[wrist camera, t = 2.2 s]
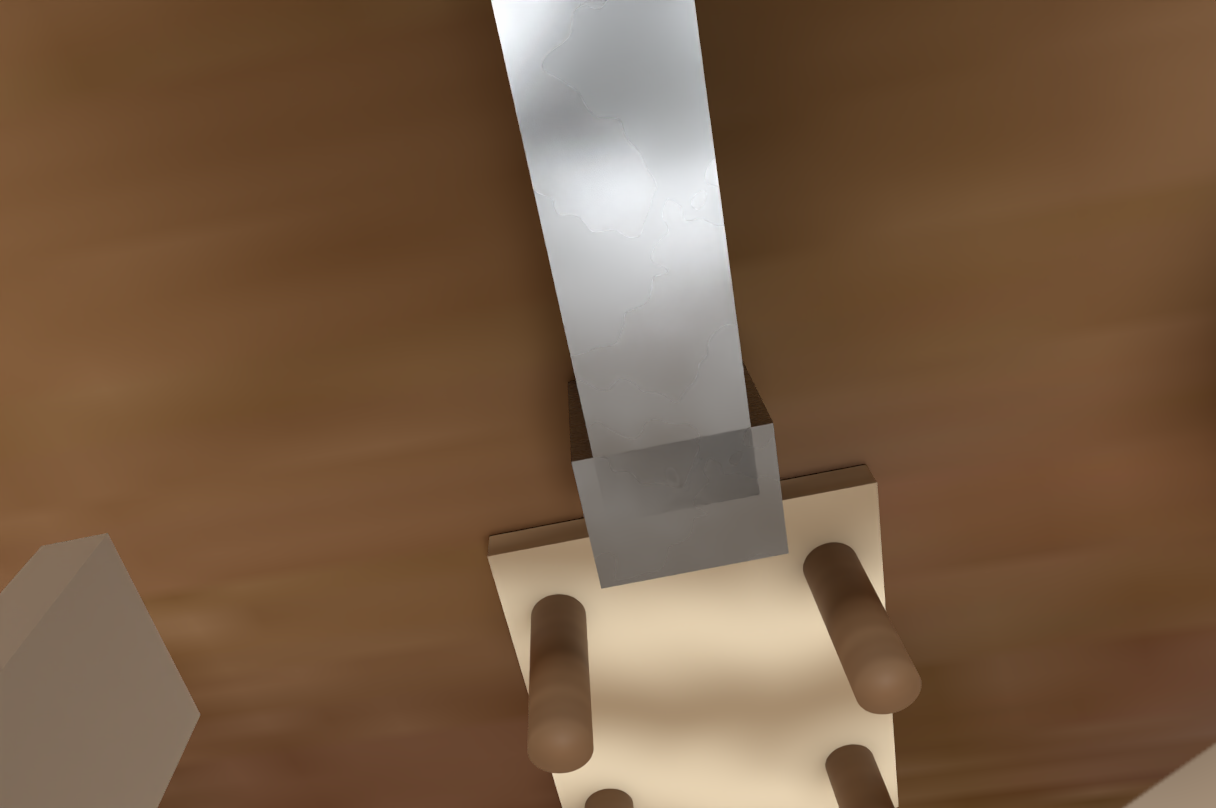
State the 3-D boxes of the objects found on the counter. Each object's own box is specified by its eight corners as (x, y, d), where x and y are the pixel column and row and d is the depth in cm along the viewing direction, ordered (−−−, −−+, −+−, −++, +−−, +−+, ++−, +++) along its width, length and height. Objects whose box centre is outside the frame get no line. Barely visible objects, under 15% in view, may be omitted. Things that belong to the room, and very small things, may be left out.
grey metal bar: (473, -33, 20) (455, -32, 16) (679, -76, 20) (711, -86, 16) (593, 494, 26) (601, 588, 22) (752, 463, 26) (788, 553, 22)
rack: (489, 536, 26) (474, 683, 21) (865, 464, 26) (948, 594, 21) (578, 838, 32) (584, 1016, 27) (888, 782, 32) (957, 950, 26)
